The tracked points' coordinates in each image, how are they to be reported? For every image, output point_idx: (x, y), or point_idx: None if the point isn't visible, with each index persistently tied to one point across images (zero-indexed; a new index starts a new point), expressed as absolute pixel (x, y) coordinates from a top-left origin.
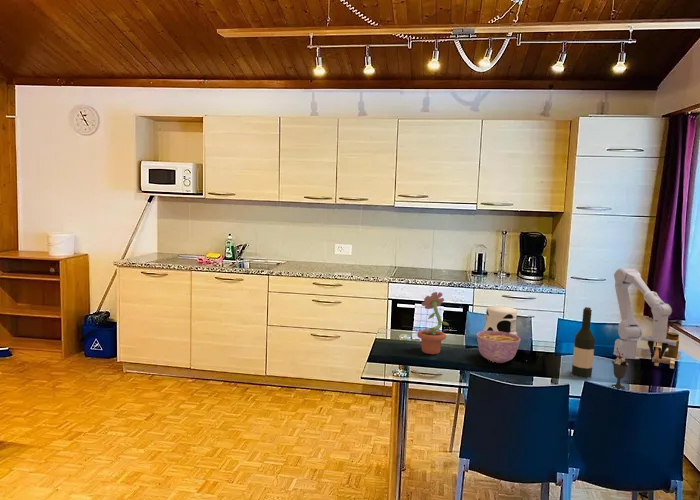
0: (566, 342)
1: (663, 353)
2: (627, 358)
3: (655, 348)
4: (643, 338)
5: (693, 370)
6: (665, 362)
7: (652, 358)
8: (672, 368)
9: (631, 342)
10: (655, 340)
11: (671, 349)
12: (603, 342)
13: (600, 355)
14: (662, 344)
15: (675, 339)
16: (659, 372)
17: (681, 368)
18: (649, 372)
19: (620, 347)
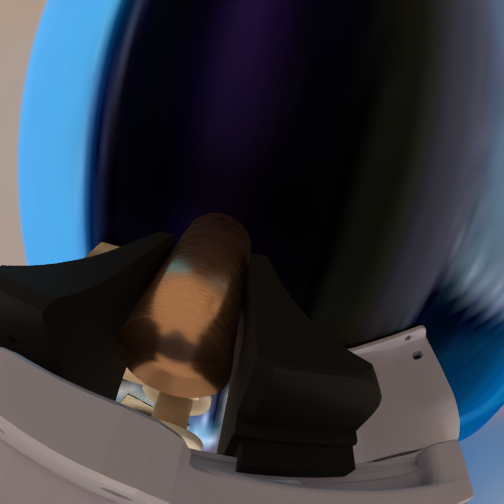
0: (494, 406)
1: (155, 412)
2: (384, 338)
3: (207, 323)
4: (433, 481)
5: (29, 260)
6: None
7: (248, 261)
8: (109, 244)
9: (391, 446)
10: (183, 482)
11: None
12: None
13: (492, 326)
14: (49, 360)
15: None
16: (218, 67)
17: None
18: (311, 28)
19: (449, 386)
